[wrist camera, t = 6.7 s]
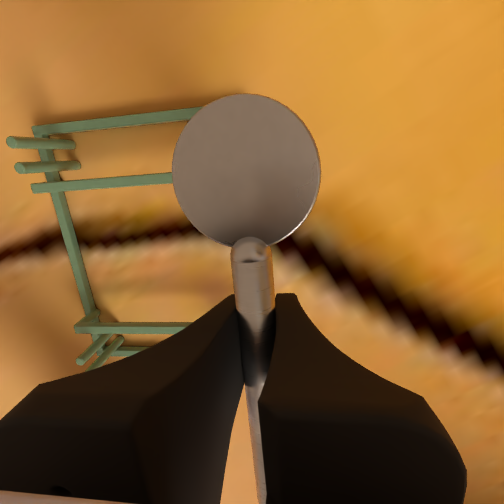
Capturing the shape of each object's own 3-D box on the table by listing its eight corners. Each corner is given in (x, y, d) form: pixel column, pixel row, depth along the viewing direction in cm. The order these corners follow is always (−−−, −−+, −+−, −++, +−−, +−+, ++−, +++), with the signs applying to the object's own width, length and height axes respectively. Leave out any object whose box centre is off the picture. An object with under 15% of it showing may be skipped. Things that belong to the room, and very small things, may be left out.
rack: (269, 354, 23) (263, 400, 18) (101, 351, 25) (62, 392, 21) (250, 102, 17) (236, 86, 13) (38, 126, 19) (-33, 119, 15)
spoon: (323, 493, 12) (326, 528, 11) (228, 485, 13) (221, 517, 12) (318, 89, 7) (322, 77, 6) (169, 106, 8) (149, 99, 7)
